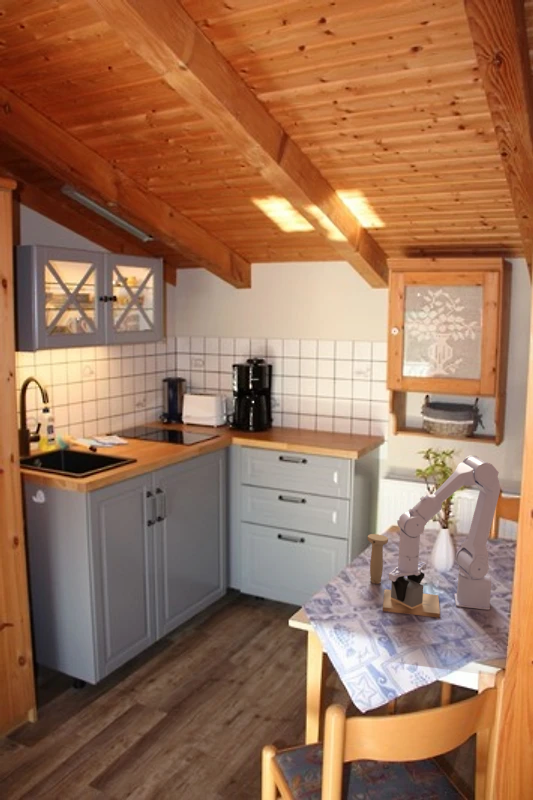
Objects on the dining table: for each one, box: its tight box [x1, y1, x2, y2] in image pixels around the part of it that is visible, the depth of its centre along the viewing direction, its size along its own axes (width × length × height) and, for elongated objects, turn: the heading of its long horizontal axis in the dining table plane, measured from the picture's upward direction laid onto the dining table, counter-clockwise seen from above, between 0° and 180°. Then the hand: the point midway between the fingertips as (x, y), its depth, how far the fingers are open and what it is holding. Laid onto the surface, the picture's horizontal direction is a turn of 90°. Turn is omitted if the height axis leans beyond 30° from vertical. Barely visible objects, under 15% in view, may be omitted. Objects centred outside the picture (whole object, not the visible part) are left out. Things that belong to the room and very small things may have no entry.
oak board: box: [382, 588, 441, 618], centre depth 196 cm, size 16×12×1 cm
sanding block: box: [390, 576, 424, 609], centre depth 195 cm, size 8×5×6 cm, turn 39°
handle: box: [367, 533, 389, 585], centre depth 210 cm, size 5×6×15 cm
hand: (406, 597), depth 195 cm, fingers closed on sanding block, 5 cm apart
